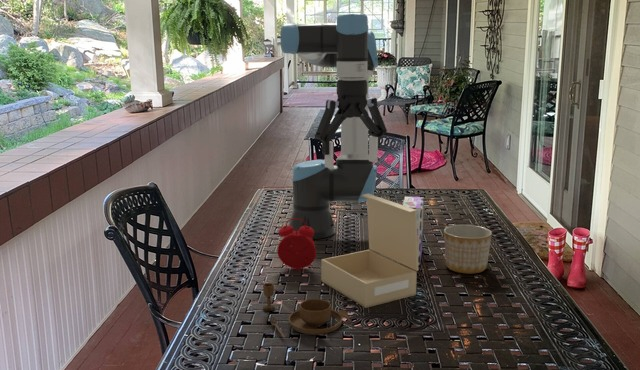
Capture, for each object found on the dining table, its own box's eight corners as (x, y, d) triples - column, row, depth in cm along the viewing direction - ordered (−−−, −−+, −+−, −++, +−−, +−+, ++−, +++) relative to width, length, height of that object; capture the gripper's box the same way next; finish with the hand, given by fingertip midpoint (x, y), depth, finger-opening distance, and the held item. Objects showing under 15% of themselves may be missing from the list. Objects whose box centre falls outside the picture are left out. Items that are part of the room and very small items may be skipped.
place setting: (285, 343, 134) (284, 317, 132) (259, 307, 152) (258, 284, 150) (361, 330, 140) (362, 304, 138) (328, 297, 158) (328, 274, 157)
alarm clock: (317, 266, 178) (317, 213, 174) (315, 274, 172) (314, 220, 168) (280, 265, 179) (279, 213, 175) (276, 273, 173) (275, 219, 169)
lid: (361, 194, 168) (368, 193, 169) (364, 250, 172) (371, 248, 173) (409, 211, 151) (416, 209, 152) (411, 272, 155) (418, 270, 156)
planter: (438, 272, 172) (440, 235, 170) (446, 258, 184) (447, 222, 181) (487, 278, 168) (489, 240, 166) (492, 262, 179) (493, 227, 177)
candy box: (420, 265, 178) (422, 208, 174) (399, 264, 179) (400, 207, 175) (422, 250, 191) (424, 196, 187) (402, 248, 192) (404, 195, 188)
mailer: (321, 281, 166) (321, 259, 165) (368, 270, 174) (369, 249, 173) (365, 308, 149) (366, 283, 148) (416, 295, 157) (416, 271, 156)
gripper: (316, 81, 147) (317, 172, 151) (401, 77, 160) (399, 161, 164) (300, 80, 153) (301, 167, 158) (382, 76, 166) (381, 157, 171)
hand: (351, 164), depth 161 cm, fingers open, 13 cm apart
